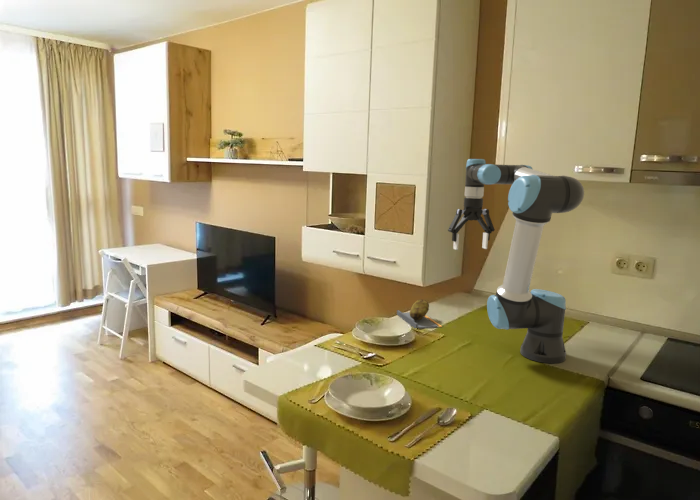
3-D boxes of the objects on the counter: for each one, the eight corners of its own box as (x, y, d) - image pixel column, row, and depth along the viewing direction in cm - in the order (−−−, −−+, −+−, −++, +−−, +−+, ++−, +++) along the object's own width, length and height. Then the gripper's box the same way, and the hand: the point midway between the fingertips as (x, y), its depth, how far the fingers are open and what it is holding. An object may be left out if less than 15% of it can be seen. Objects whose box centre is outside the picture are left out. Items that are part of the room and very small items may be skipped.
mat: (437, 327, 210) (437, 322, 210) (415, 329, 207) (416, 324, 207) (417, 313, 229) (417, 308, 229) (396, 314, 226) (397, 310, 226)
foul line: (442, 326, 211) (442, 326, 211) (439, 327, 210) (439, 326, 210) (421, 312, 230) (421, 312, 229) (419, 313, 229) (419, 312, 229)
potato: (401, 315, 214) (407, 297, 213) (414, 314, 225) (419, 297, 224) (418, 323, 210) (424, 304, 209) (430, 321, 221) (436, 303, 220)
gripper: (495, 196, 215) (491, 246, 219) (441, 196, 208) (438, 248, 212) (505, 198, 208) (501, 249, 212) (450, 198, 201) (447, 251, 205)
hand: (470, 248), depth 212 cm, fingers open, 13 cm apart
